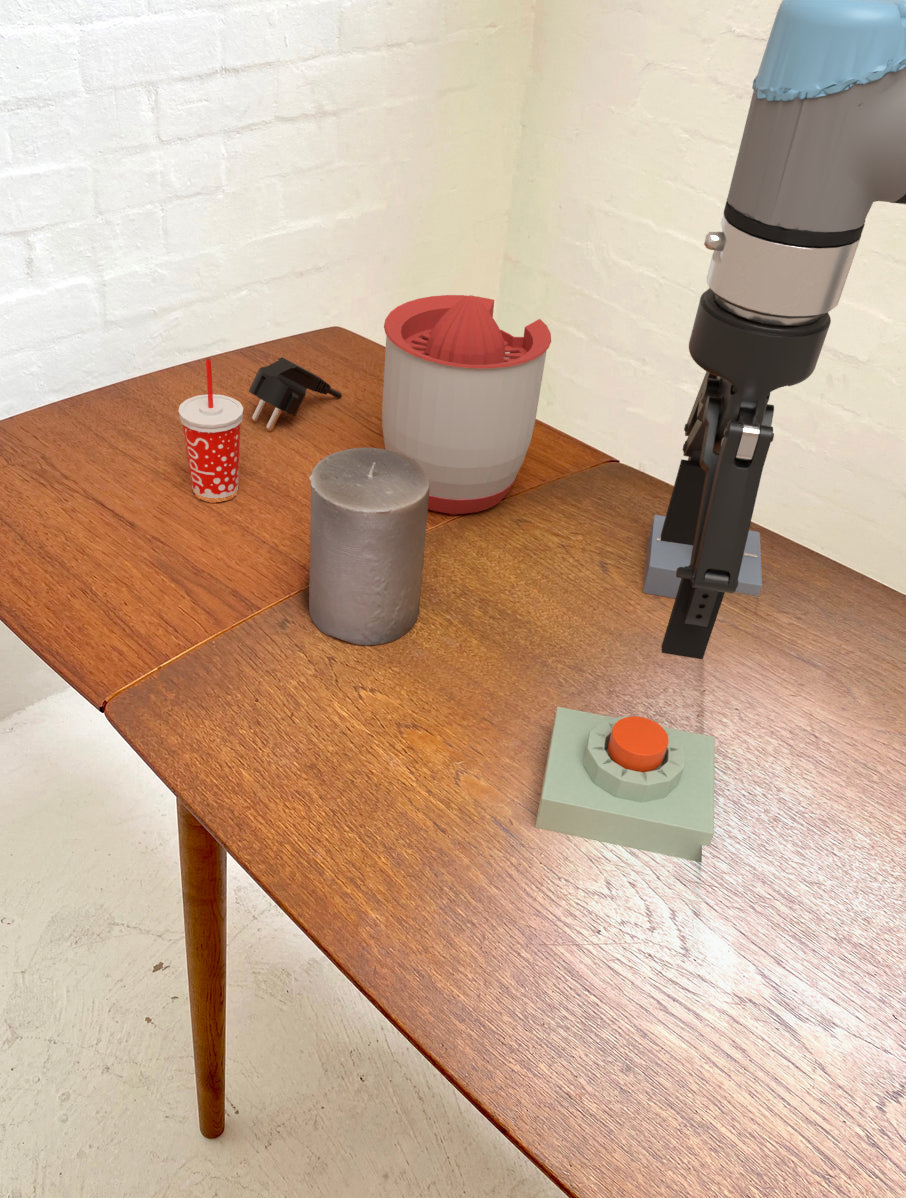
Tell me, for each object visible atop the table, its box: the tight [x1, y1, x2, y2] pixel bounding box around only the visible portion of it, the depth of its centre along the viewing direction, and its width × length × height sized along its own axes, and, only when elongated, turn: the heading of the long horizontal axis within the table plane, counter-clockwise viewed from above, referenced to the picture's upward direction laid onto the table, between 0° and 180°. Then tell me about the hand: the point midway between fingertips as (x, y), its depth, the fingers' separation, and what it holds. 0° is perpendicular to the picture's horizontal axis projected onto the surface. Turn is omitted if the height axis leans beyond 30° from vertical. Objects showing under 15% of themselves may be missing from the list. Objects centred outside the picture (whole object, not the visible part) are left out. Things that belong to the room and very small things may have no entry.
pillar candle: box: [308, 447, 430, 646], centre depth 93 cm, size 10×10×15 cm
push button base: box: [534, 706, 716, 863], centre depth 81 cm, size 12×10×5 cm
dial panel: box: [642, 514, 763, 599], centre depth 104 cm, size 10×9×3 cm
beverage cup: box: [178, 357, 244, 499], centre depth 107 cm, size 6×6×14 cm
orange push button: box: [608, 715, 669, 772], centre depth 79 cm, size 4×4×2 cm
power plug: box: [248, 356, 343, 432], centre depth 123 cm, size 6×8×12 cm
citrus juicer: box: [381, 294, 552, 516], centre depth 108 cm, size 16×17×20 cm
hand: (680, 593), depth 79 cm, fingers open, 13 cm apart
